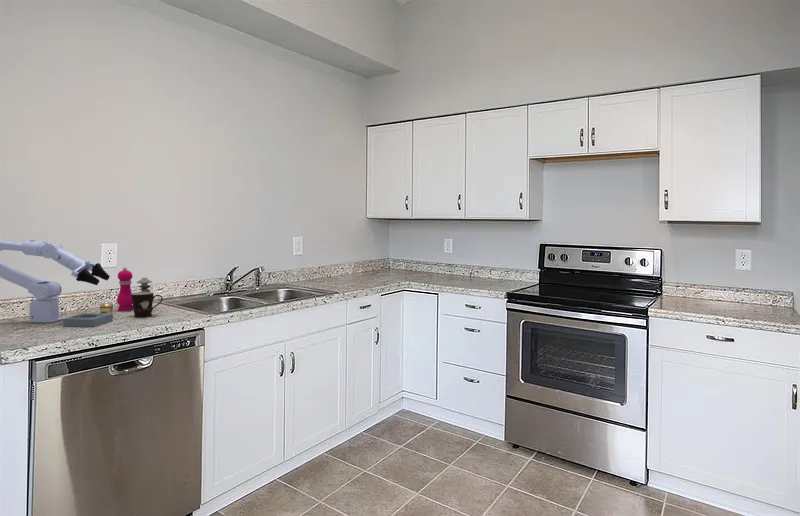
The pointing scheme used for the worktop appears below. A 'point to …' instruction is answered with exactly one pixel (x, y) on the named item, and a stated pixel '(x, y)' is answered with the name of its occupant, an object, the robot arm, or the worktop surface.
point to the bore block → (88, 319)
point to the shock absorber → (144, 285)
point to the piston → (106, 308)
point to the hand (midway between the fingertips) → (103, 280)
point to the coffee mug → (143, 303)
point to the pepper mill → (125, 291)
